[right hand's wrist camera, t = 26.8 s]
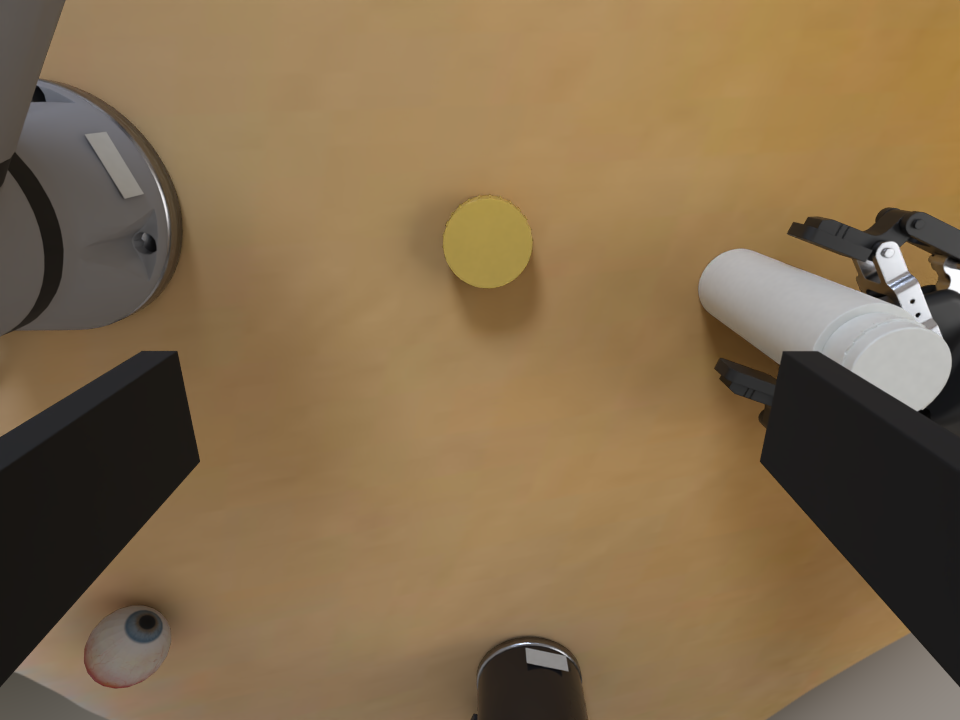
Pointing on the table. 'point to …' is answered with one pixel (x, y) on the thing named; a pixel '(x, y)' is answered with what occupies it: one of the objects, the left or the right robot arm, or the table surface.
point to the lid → (487, 242)
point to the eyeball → (127, 646)
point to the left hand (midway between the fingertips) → (757, 301)
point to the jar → (825, 324)
